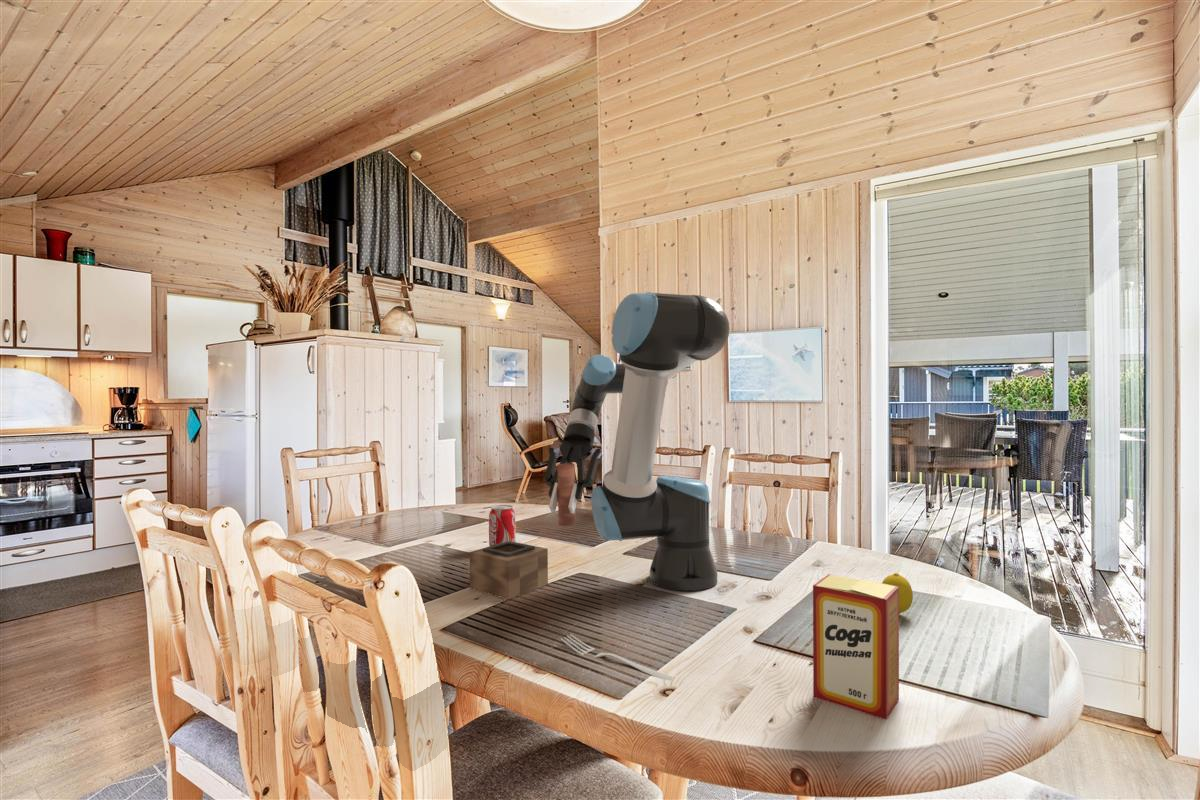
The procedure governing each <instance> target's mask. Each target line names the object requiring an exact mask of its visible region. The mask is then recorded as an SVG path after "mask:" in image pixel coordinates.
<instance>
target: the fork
mask: <svg viewBox="0 0 1200 800" xmlns="http://www.w3.org/2000/svg"><path fill="white" fill-rule="evenodd" d="M560 640H561V641H562V642H563V643H564V644H565V645H566V646H568V647H569V648H570V649H572V650H573V651H575V652H576V653H577V654H579V655H582V656H583V655H585V654H587V653H589V652H592V651H593V650H595V648H594V647H592V646H591V645H588V644H586V643H584V642H583V641H582V640H580V639H579V638H577V637H576V636H574V635H573V634H571V633H569V634H566V637H565V636H563V638H560ZM593 657H594V658H601V657H611V658H614V659H616V660H618V661H620V662H623V663H625V664H626V665H629V666H630V667H633V668H635V669H637V670H638V671H641V672H643V673H645V674H647V675H648V676H649V675H650V676H652V677H655V678H658V679H661V680H664V681H675V678H674V677H673V676H671V675H669V674H667V673H663V672H660V671H658V670H654V669H652V668H649V667H647V666H644V665H641V664H638V663H636V662H634V661H631V660H629V659H626V658H624V657H622V656H620V655H617V654H614V653H609V652H600V653H597V654H596V655H594V656H593Z"/></svg>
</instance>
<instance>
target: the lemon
mask: <svg viewBox="0 0 1200 800" xmlns="http://www.w3.org/2000/svg"><path fill="white" fill-rule="evenodd" d="M881 583H882V584H887V585H892V586H897V587H899V615H901V614H902V613H905V612H907V611H908V610H909V609H910V608H911V606H912V603H913V600H914V599H913V598H914V595H913V589H912V585H911V584H910V582H909V581H908V579H907V578H906V577H904V576H903V575H900V574H899V573H898V572H894V573H892V574H890V575H887V576H886V577H885V578H884V579H883V580H882V582H881Z"/></svg>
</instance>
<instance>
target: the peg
mask: <svg viewBox="0 0 1200 800" xmlns="http://www.w3.org/2000/svg"><path fill="white" fill-rule="evenodd" d="M575 464H576V463H571V464H569V463H565V464H560V463H558V464H556V466H557V468H558V502H557V511H558V514H557V515H558V516H557V517H558V518H557V519H558V526H562V527H571V526H575V525H576V524H577V523H576V520H577V519H576V511H575V512H574V514H573V513H571V512H570V510H569V507H568V506H569V502H570V497H571V493H572V489H573V485H574V483H576V480H575V479H576V476H575V475H576V473H575V471H576V468H575Z"/></svg>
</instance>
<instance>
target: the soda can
mask: <svg viewBox="0 0 1200 800" xmlns="http://www.w3.org/2000/svg"><path fill="white" fill-rule="evenodd" d="M513 508H514V506H513V505H510V504H497V505H492V506H491V507H490V509H491V510H490V511H489V514H488V544H489V546H493V545H497V544H500V543H504V542H507V541H512V542H516V537H517V536H516V512H515V510H514V509H513ZM489 546H488V547H489Z"/></svg>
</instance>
